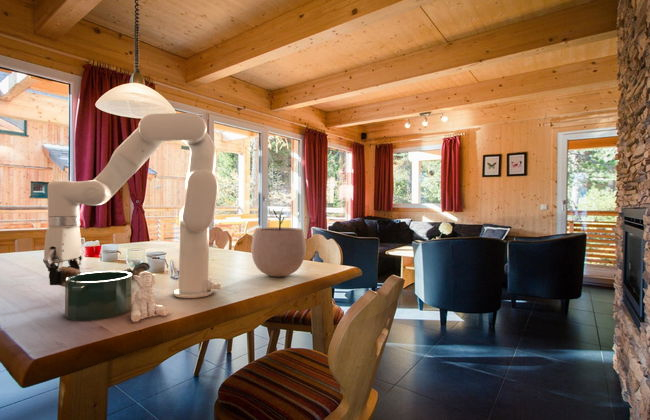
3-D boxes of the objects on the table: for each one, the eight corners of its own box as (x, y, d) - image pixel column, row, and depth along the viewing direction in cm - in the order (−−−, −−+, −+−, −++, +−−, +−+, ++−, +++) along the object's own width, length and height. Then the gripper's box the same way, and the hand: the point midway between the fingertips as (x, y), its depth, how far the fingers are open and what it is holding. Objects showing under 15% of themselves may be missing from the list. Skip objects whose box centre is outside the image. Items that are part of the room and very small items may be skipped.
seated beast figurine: (132, 323, 90) (133, 276, 90) (119, 315, 95) (120, 272, 95) (168, 315, 97) (169, 272, 97) (155, 308, 103) (155, 268, 102)
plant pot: (314, 273, 161) (315, 208, 161) (288, 283, 139) (289, 208, 139) (270, 268, 171) (271, 207, 171) (239, 277, 149) (240, 207, 149)
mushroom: (59, 279, 98) (64, 259, 102) (38, 288, 100) (43, 268, 103) (86, 286, 105) (89, 268, 108) (65, 295, 106) (69, 276, 110)
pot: (144, 301, 110) (145, 269, 110) (108, 324, 89) (108, 284, 89) (92, 301, 109) (93, 269, 109) (43, 324, 88) (44, 284, 88)
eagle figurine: (146, 278, 137) (154, 270, 146) (134, 264, 136) (144, 256, 145) (129, 288, 138) (139, 279, 146) (118, 274, 136) (128, 266, 145)
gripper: (70, 220, 112) (71, 275, 112) (28, 224, 95) (29, 289, 95) (94, 220, 113) (95, 275, 113) (57, 224, 95) (58, 288, 96)
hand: (65, 281), depth 104 cm, fingers closed on mushroom, 7 cm apart
